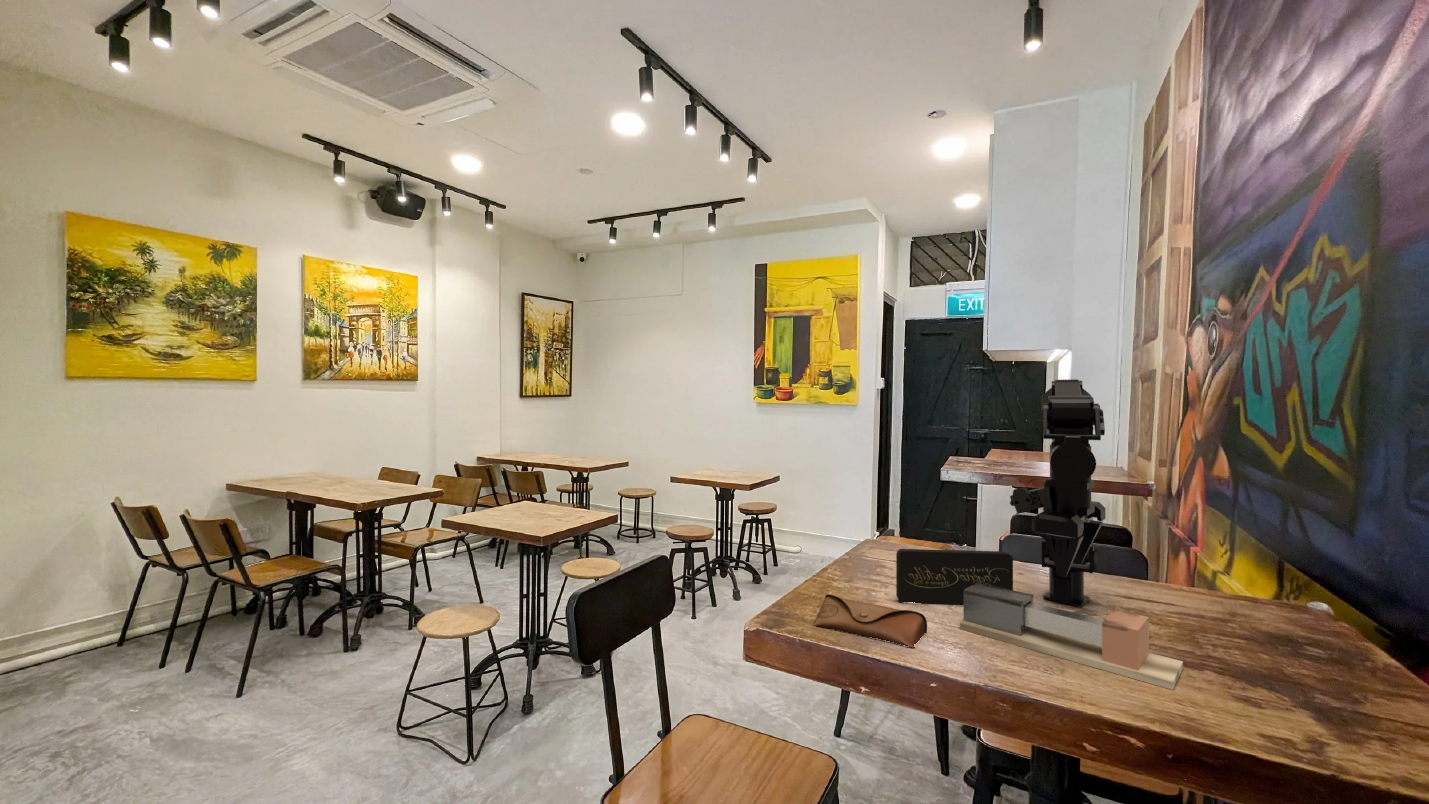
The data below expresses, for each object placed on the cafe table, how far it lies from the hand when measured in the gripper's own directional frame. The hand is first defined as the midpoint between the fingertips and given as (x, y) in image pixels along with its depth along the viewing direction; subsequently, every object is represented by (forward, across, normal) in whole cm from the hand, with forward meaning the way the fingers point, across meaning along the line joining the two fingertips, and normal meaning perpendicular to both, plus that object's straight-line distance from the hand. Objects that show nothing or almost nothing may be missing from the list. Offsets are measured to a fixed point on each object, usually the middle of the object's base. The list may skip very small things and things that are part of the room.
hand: (1070, 569), depth 92 cm
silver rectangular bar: (+9, +6, 0) cm, 10 cm away
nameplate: (+12, -2, -20) cm, 23 cm away
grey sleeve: (+10, +5, -9) cm, 15 cm away
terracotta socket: (+10, +6, +8) cm, 14 cm away
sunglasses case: (+11, +21, -25) cm, 34 cm away
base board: (+11, +6, 0) cm, 12 cm away
